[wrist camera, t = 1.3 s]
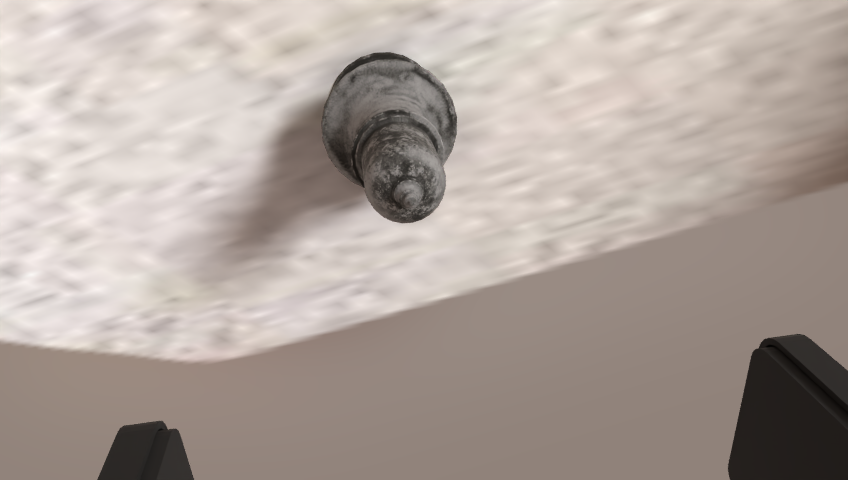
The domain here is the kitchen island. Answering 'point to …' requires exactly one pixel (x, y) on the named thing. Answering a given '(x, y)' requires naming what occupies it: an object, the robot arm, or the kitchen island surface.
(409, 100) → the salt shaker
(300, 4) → the kitchen island surface
